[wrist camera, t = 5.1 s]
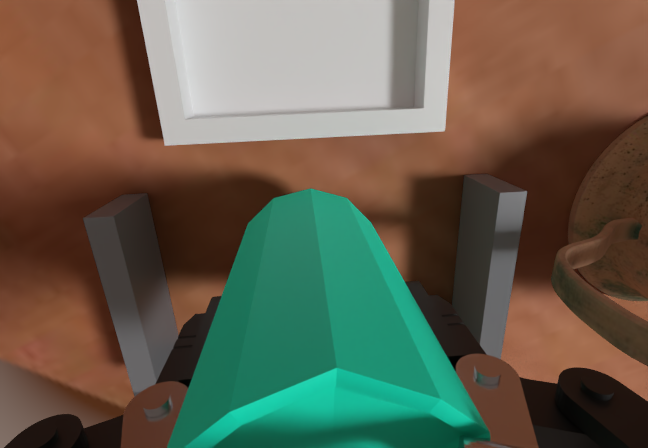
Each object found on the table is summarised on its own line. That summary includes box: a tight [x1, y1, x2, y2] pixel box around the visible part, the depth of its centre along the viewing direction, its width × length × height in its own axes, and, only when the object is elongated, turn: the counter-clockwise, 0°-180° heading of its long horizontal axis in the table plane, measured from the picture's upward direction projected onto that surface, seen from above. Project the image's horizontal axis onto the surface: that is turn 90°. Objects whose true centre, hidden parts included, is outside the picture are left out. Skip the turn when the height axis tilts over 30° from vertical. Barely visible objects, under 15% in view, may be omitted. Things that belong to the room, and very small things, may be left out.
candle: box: [167, 188, 491, 448], centre depth 10 cm, size 6×6×12 cm
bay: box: [83, 174, 527, 396], centre depth 18 cm, size 18×10×4 cm, turn 92°
